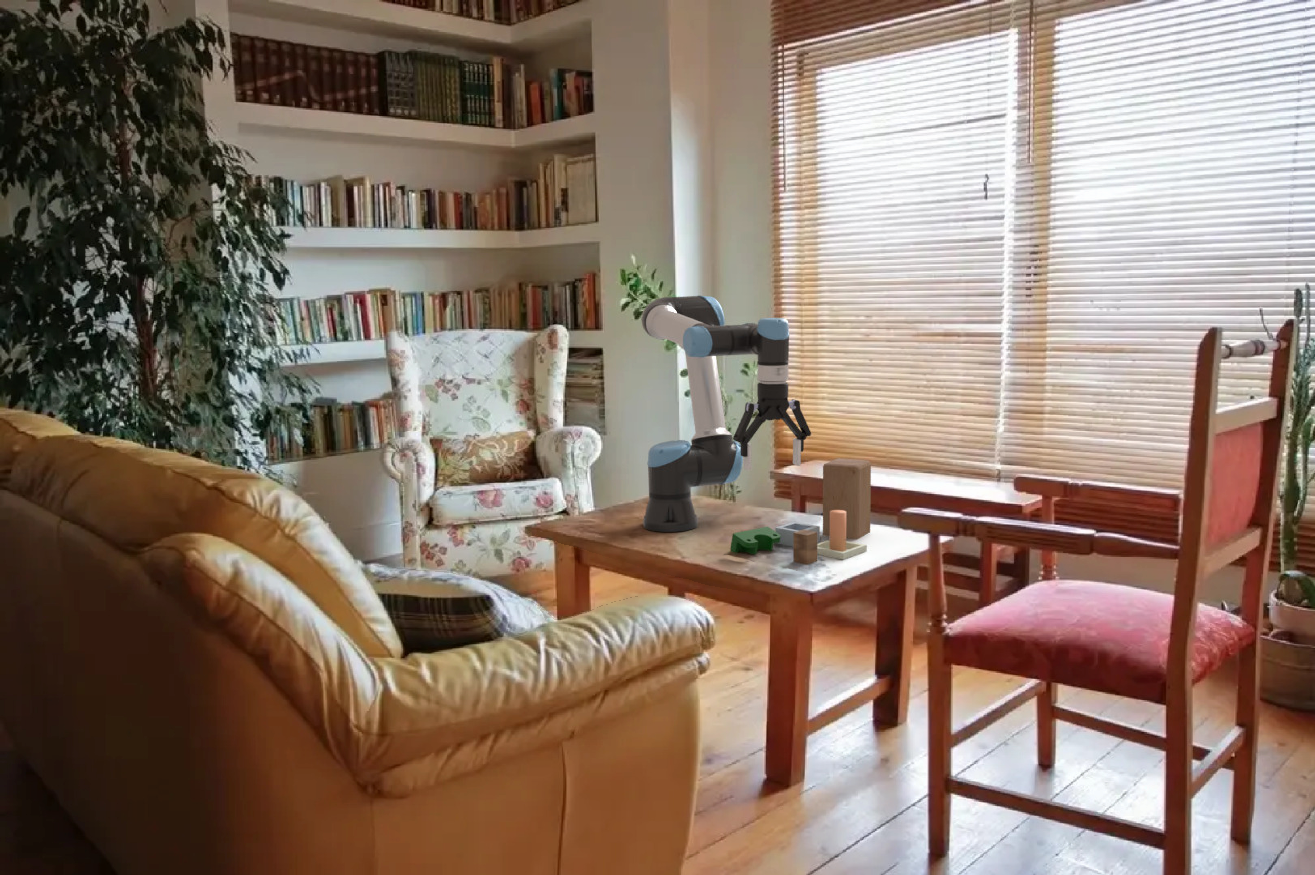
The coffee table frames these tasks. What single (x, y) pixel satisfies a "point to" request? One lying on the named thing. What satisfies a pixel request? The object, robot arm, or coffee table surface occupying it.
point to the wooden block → (848, 495)
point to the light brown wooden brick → (805, 547)
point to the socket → (789, 529)
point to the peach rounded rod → (838, 530)
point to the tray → (850, 551)
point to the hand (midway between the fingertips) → (772, 467)
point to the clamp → (754, 540)
